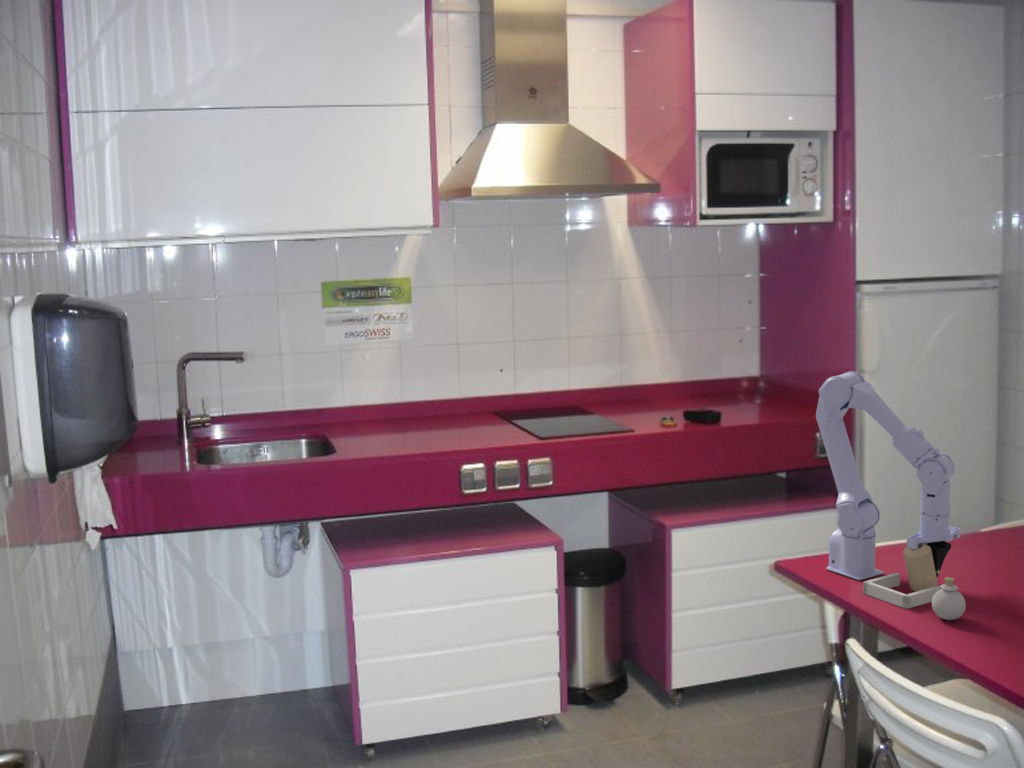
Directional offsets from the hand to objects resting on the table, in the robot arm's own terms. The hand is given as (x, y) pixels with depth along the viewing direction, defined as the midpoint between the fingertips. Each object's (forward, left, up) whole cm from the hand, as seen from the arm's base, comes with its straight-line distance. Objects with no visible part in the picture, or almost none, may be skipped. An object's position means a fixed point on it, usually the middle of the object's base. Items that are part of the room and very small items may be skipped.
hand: (932, 575), depth 218 cm
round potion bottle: (+13, -13, -3) cm, 18 cm away
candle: (0, -3, -2) cm, 3 cm away
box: (0, -9, -2) cm, 9 cm away
